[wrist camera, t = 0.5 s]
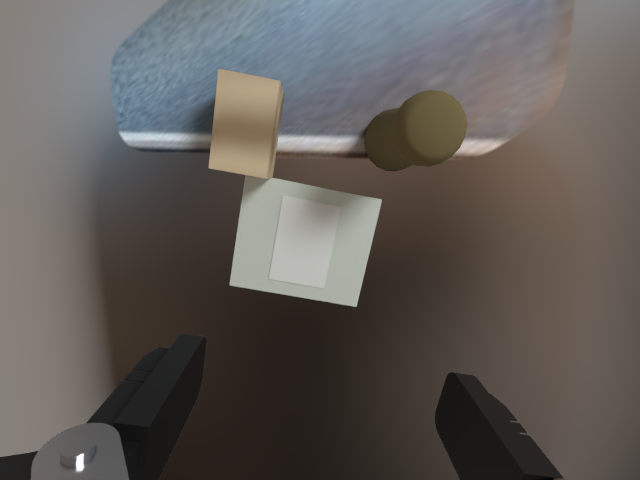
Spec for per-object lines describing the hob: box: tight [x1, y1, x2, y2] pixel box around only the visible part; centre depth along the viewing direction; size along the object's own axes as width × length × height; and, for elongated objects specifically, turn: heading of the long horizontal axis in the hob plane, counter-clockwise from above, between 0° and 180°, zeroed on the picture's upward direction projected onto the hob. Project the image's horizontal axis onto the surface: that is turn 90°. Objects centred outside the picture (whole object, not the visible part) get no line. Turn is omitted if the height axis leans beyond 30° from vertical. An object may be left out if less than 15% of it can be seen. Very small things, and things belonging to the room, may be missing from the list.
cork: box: [364, 90, 467, 171], centre depth 27 cm, size 6×6×11 cm
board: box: [229, 175, 382, 307], centre depth 33 cm, size 12×14×1 cm
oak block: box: [209, 69, 284, 179], centre depth 29 cm, size 8×5×5 cm, turn 170°
